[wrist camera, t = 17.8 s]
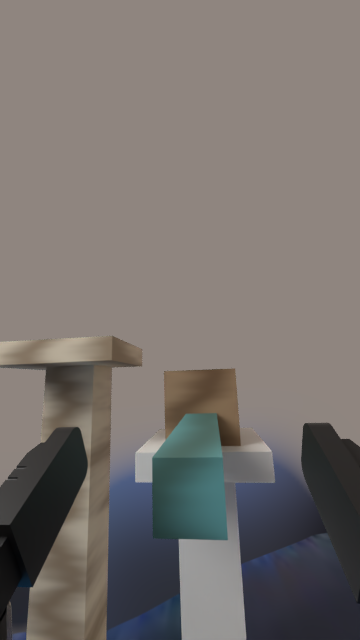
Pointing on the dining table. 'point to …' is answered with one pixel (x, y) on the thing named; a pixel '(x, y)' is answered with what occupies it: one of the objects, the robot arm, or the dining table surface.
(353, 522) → the robot arm
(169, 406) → the teal and brown block
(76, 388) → the marbled pedestal stand
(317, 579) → the dining table surface
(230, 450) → the white column stand
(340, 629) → the dining table surface
